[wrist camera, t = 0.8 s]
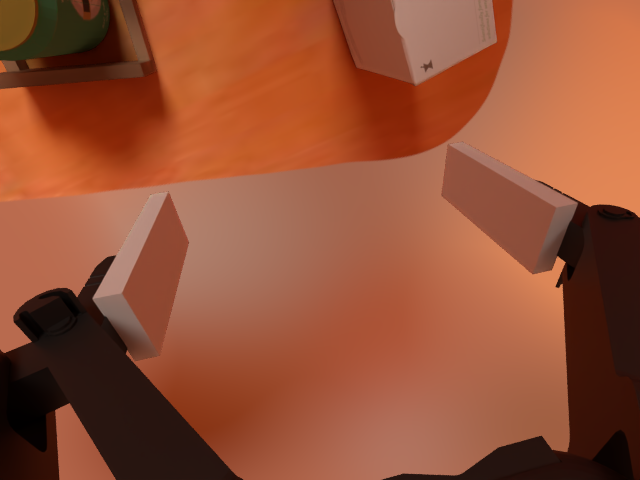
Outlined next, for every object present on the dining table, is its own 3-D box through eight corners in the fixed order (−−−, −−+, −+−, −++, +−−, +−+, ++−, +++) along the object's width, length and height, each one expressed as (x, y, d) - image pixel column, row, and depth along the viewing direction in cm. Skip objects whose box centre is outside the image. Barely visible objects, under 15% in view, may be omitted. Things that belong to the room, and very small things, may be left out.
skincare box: (407, 42, 35) (502, 48, 22) (352, 71, 36) (413, 93, 23) (385, -54, 30) (489, -117, 17) (321, -19, 31) (377, -55, 18)
